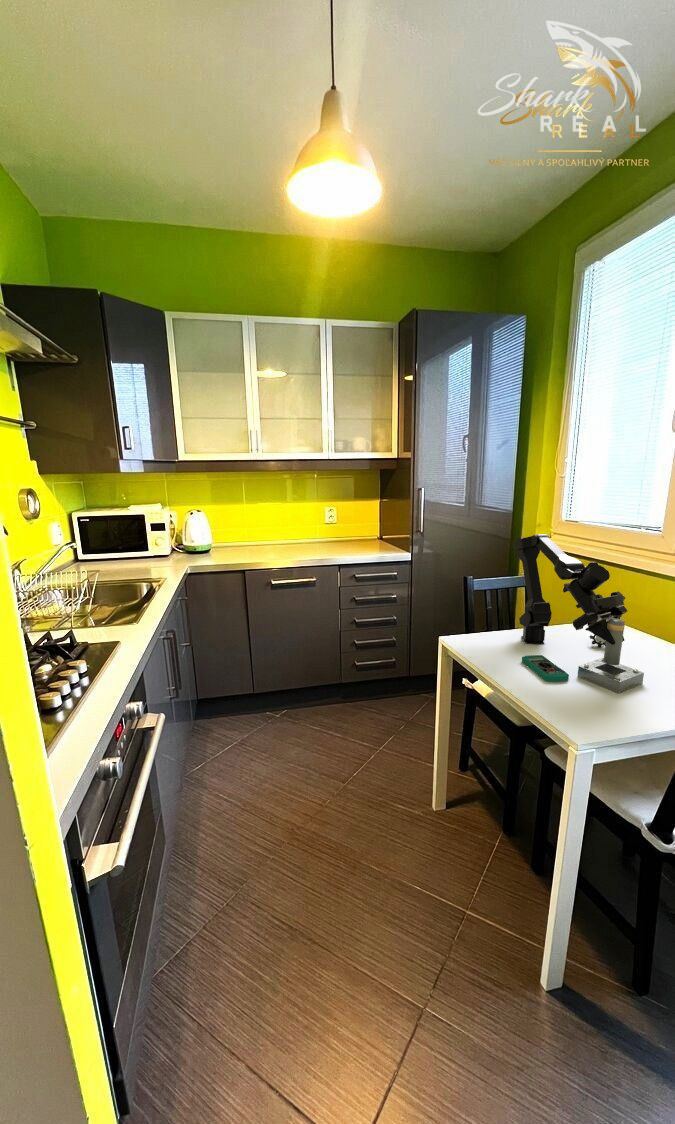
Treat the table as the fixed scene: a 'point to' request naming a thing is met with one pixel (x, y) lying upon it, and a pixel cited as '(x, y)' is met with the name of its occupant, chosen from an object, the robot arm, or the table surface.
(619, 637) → the plug
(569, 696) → the table surface
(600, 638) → the valve
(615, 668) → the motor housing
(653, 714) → the table surface
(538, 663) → the digital multimeter
